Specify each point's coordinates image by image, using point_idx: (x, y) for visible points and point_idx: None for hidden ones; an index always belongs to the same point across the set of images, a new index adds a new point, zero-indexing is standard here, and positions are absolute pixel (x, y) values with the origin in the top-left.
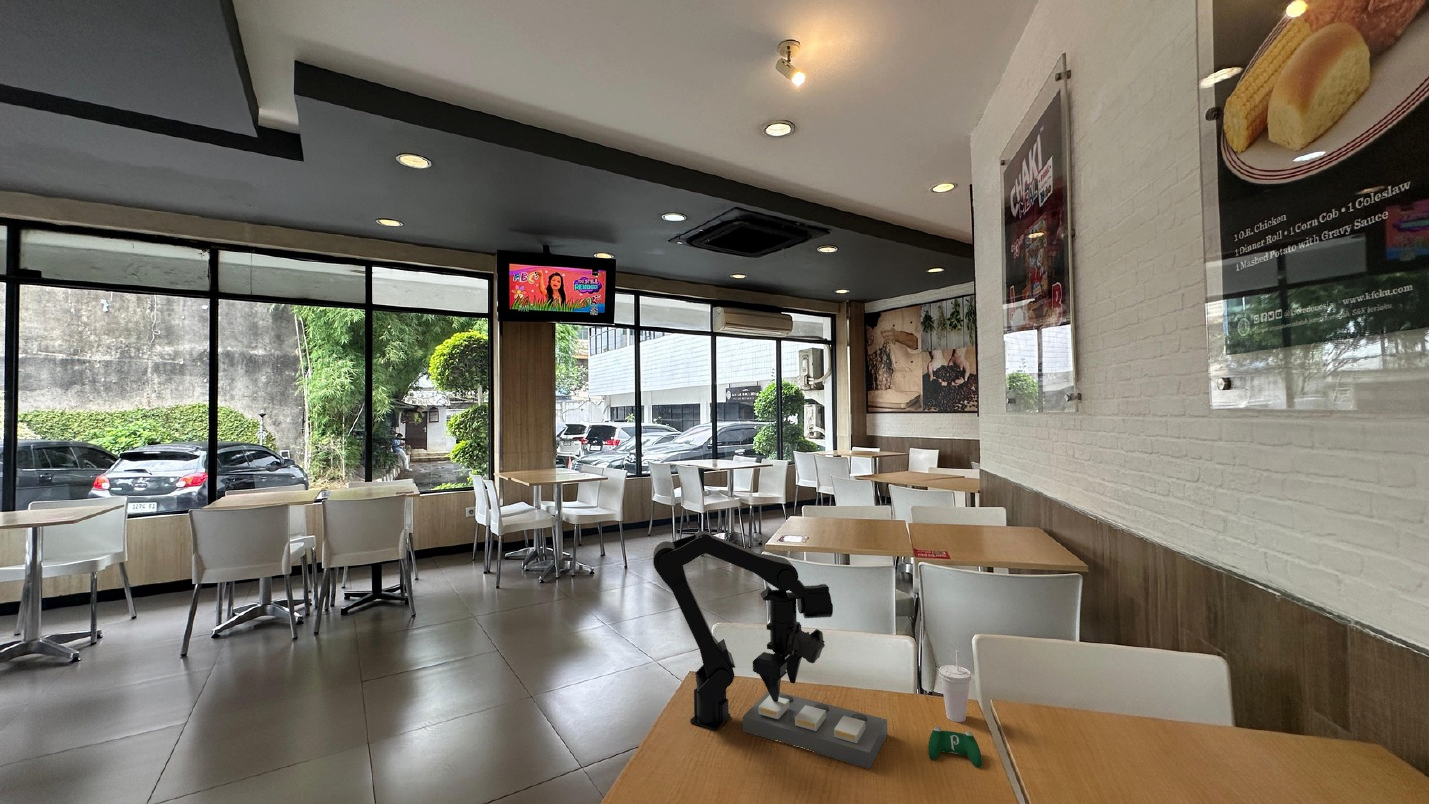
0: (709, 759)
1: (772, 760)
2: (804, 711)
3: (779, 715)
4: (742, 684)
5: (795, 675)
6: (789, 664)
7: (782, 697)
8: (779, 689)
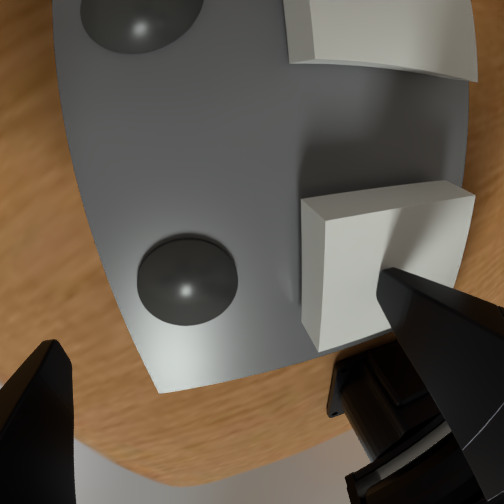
0: (501, 257)
1: (488, 115)
2: (403, 38)
3: (443, 185)
4: (131, 443)
5: (33, 385)
6: (51, 492)
7: (190, 310)
8: (460, 306)
